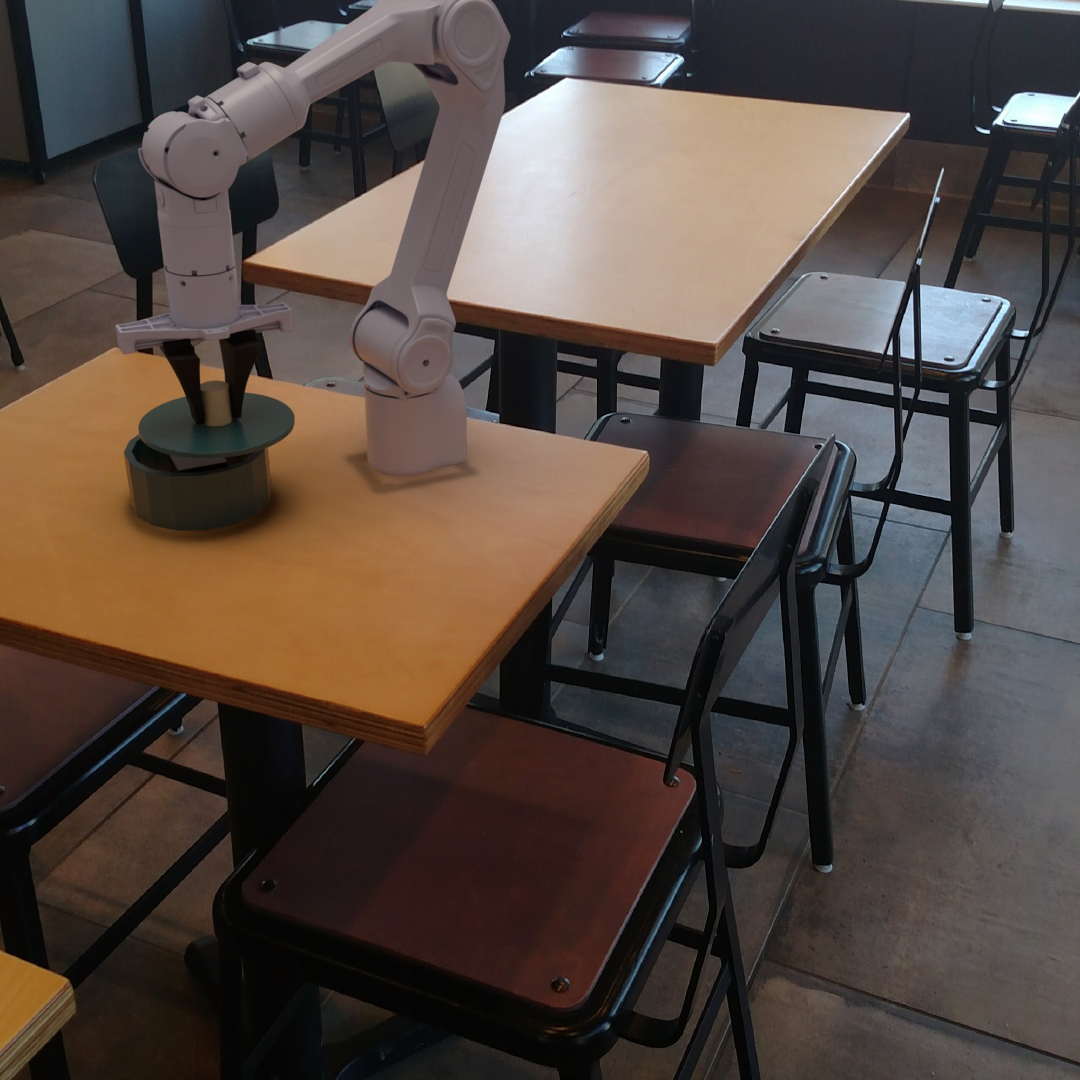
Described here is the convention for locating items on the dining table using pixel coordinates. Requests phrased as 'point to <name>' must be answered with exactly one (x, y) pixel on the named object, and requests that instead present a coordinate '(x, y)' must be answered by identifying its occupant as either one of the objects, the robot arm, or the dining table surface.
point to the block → (195, 464)
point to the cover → (216, 425)
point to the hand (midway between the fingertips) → (216, 417)
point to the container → (196, 489)
